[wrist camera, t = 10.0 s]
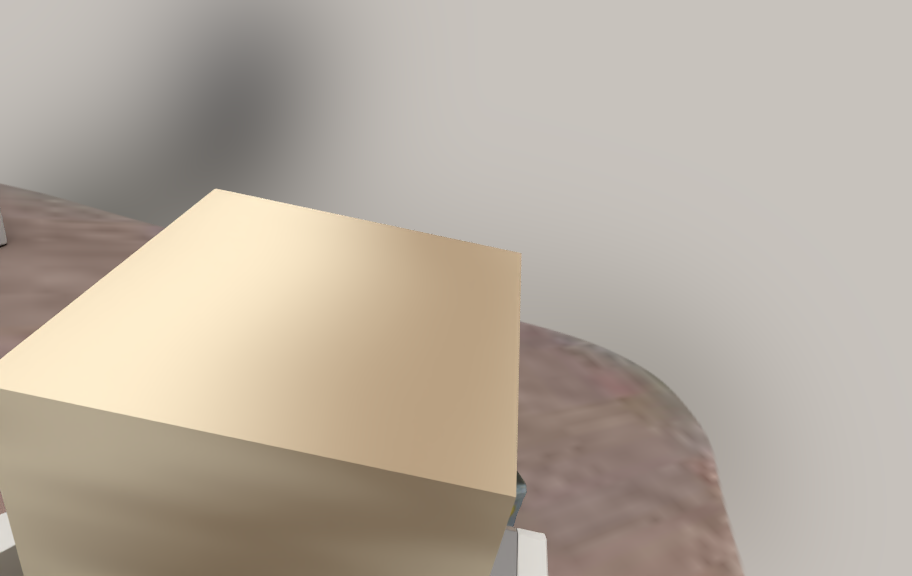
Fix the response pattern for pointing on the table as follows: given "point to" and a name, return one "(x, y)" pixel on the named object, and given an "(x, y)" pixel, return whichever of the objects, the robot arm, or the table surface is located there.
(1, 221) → the light bulb box
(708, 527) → the table surface
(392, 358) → the beech block
